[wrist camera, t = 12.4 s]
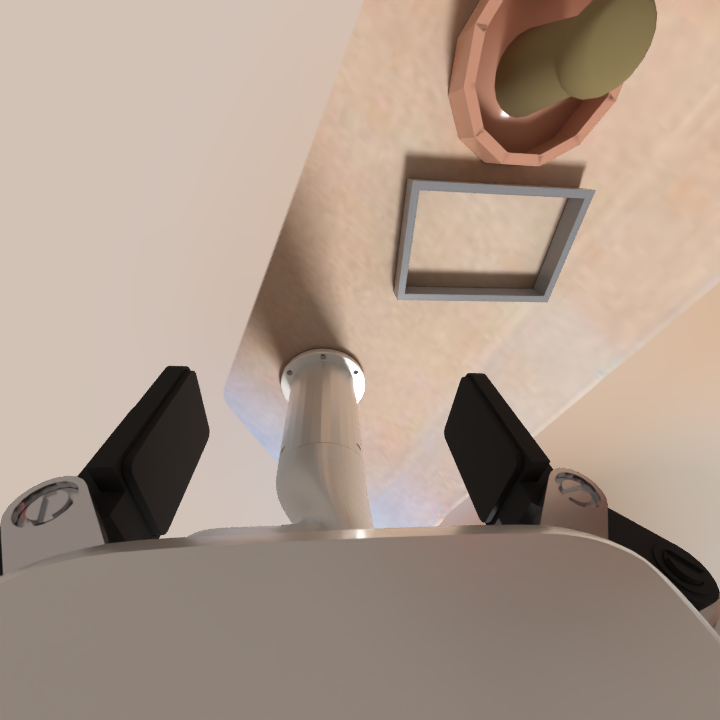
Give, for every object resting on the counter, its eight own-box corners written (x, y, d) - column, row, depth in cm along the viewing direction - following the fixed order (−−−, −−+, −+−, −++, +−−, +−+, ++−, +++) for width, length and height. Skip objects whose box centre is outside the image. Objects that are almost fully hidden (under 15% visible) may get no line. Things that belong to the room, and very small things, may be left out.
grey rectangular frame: (536, 294, 41) (547, 302, 39) (393, 292, 39) (397, 299, 37) (579, 187, 34) (595, 190, 32) (407, 178, 32) (412, 180, 30)
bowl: (562, 167, 33) (588, 169, 29) (437, 159, 31) (450, 160, 28) (634, -33, 25) (681, -60, 22) (472, -55, 23) (495, -88, 20)
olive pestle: (480, 81, 27) (555, 49, 18) (538, 5, 25) (656, -76, 16) (519, 133, 30) (600, 127, 21) (574, 68, 27) (694, 29, 18)
